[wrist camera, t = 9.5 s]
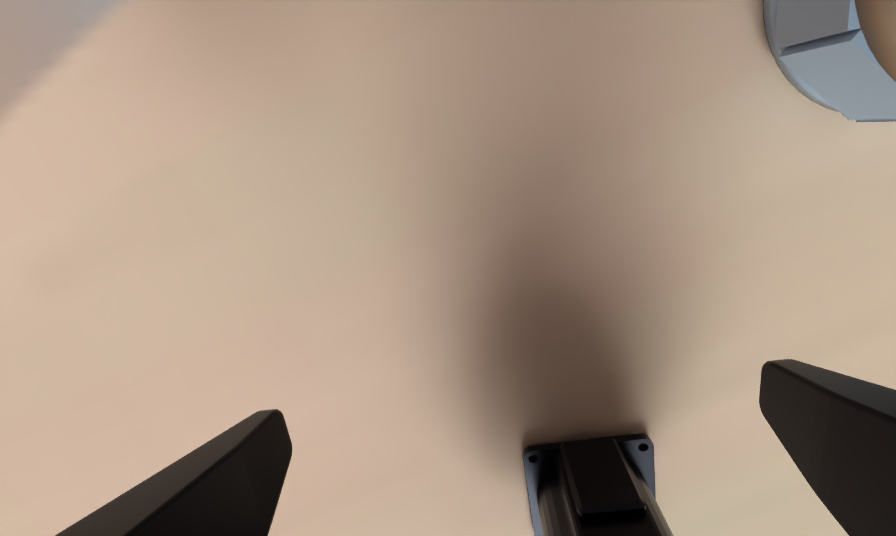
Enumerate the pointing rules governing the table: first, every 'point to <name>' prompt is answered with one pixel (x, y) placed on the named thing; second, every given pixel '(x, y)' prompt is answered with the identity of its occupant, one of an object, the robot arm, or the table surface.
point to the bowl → (829, 57)
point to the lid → (879, 31)
